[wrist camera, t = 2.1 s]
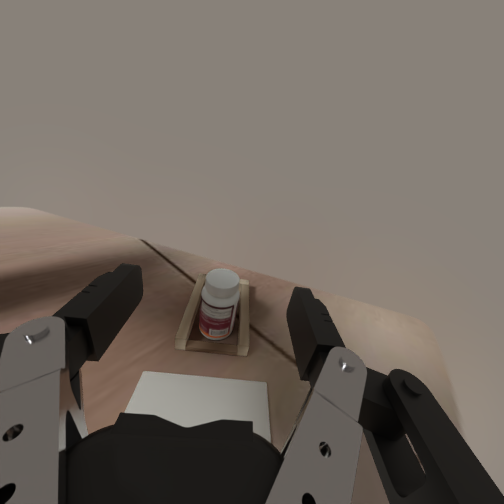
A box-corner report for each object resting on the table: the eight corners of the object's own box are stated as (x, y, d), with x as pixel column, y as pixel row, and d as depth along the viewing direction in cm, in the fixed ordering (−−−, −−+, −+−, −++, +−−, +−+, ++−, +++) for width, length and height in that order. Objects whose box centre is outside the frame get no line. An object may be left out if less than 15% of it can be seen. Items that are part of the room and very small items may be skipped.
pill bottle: (212, 308, 31) (218, 262, 27) (239, 324, 29) (249, 276, 25) (190, 329, 27) (193, 278, 23) (219, 348, 25) (228, 296, 21)
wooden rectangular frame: (174, 349, 24) (174, 337, 23) (198, 282, 35) (199, 273, 34) (246, 356, 25) (249, 345, 24) (247, 289, 36) (249, 280, 35)
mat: (67, 538, 12) (66, 537, 12) (143, 372, 21) (143, 370, 21) (277, 540, 13) (278, 540, 13) (265, 383, 22) (266, 382, 22)
